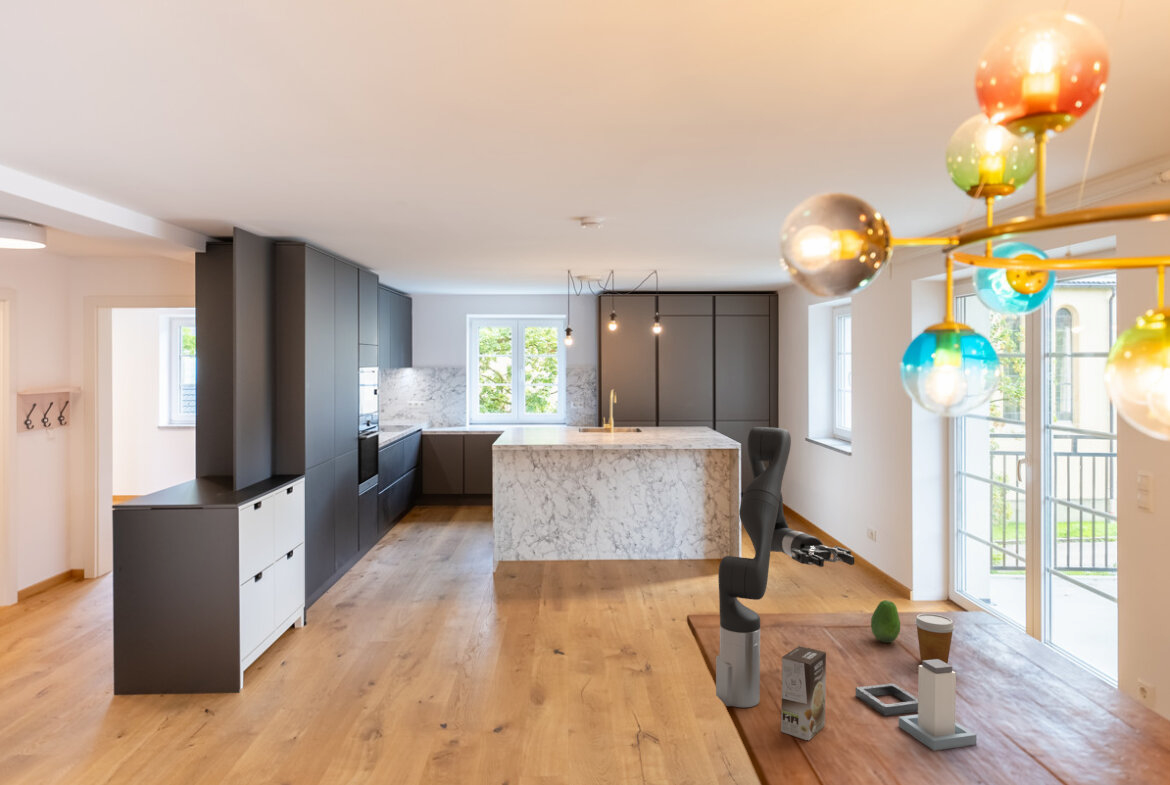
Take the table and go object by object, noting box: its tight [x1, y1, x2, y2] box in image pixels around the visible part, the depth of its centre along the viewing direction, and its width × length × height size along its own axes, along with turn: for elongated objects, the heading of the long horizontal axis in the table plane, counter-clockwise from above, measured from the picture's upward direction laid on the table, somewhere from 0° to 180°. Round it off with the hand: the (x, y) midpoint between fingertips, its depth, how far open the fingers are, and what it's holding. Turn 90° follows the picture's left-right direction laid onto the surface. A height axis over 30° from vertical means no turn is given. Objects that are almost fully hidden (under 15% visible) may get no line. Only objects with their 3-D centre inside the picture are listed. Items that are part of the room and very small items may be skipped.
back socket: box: [855, 682, 918, 717], centre depth 161 cm, size 10×10×2 cm
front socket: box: [898, 713, 977, 751], centre depth 147 cm, size 10×10×2 cm
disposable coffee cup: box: [914, 613, 956, 664], centre depth 184 cm, size 10×10×12 cm
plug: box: [917, 659, 957, 737], centre depth 147 cm, size 5×5×15 cm
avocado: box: [870, 599, 901, 644], centre depth 200 cm, size 8×8×12 cm
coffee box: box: [780, 645, 827, 741], centre depth 149 cm, size 9×6×16 cm
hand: (837, 561), depth 173 cm, fingers open, 8 cm apart
